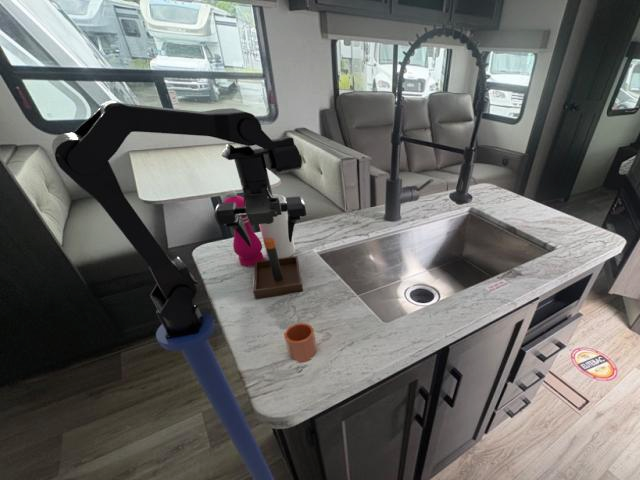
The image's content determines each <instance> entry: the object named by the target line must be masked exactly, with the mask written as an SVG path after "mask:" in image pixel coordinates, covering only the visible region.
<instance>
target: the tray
mask: <svg viewBox="0 0 640 480" xmlns="http://www.w3.org/2000/svg"><path fill="white" fill-rule="evenodd" d="M279 264H280V268H281V272H282V276H283V279H282V280H280V281H275V280H274V277H273V273H272V269H271V266H270V262H269V259H263V261H255V266H253V267H254V270H253V287H252V293H253V296H254V299H255V300H260V299H261V300H262V299H266V298H273V297H279V296H286V295H291V294H297V293H303V292H304V288H303V281H302V274H301V266H300V261H299V256H298V255H295V256H290V257H287V258H279Z"/></svg>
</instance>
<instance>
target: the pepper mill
mask: <svg viewBox="0 0 640 480" xmlns="http://www.w3.org/2000/svg"><path fill="white" fill-rule="evenodd" d="M230 202H235V203H236V205H237V207H245V205H244V196H240V195H237V192H236V191H235V190H229V191H228V197H226V198H224V200H223V201H222V203H230ZM242 219H243V222H244V224H245V227H246V230H247V232H248V235H249V238H250V241H251V247H249V246H248V245H247V243H246V242H245V241H244V239H243V238H242V237H241V236H240V234H239V233H238V232H237V231H236V230H235V229H233V231H234V232H233V233H234V235H233V242H232V247H233V251H234V253H235V254H236V255H238V260H239V263H240V265H241V266H244V267H255V261H263V260H265V257H264V254H263V252H262V250H263V244H262V242H261V239H260V238H259V237H258V235H257V234H256V233H255V232H254V230H253V228H252V225H251V224H250V222H249V220H248V217H247V215H246V216H242Z"/></svg>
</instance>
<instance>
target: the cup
mask: <svg viewBox="0 0 640 480" xmlns="http://www.w3.org/2000/svg"><path fill="white" fill-rule="evenodd" d="M272 195H273V198H279V201H280V203H286V197H285V196H284V195H282V194H277V193H272ZM273 218H274V221H273V223H271V224H258V226H259V230H260V234H261V238H262V242H263V245H264V246H263V247H264V250H265V254H266V256H267V257H268V254H267V250H266V248H265V244H264V240H265V239H267V238H273V239H274V241H275V245H276V251H277V255H278V259H279V258H287V257H293V255H294V254H295V253H296V246H295V240H294V235H292V241H291V242H290V241H289V236H288V221H287V212H282V215H277V217H273Z"/></svg>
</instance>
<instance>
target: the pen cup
mask: <svg viewBox="0 0 640 480" xmlns="http://www.w3.org/2000/svg"><path fill="white" fill-rule="evenodd" d="M315 335H316V333H315V329H314V327H313V326H312V325H311V324H308V323H306V322H305V323H304V322H299V323H295V324H292V325H290V326H288V327H287V328H286V329H285V331H284V333H283V336H284V337H283V338H284V341H285V344H286V349H287V353H288V356H289V358H290V359H292V361H294V362H295V361H296V363H298V364H302V363H307V362H310V361H312V360H313V358H314V357H315V356H316V354H317V352H318V345H317V340H316V336H315Z"/></svg>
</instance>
